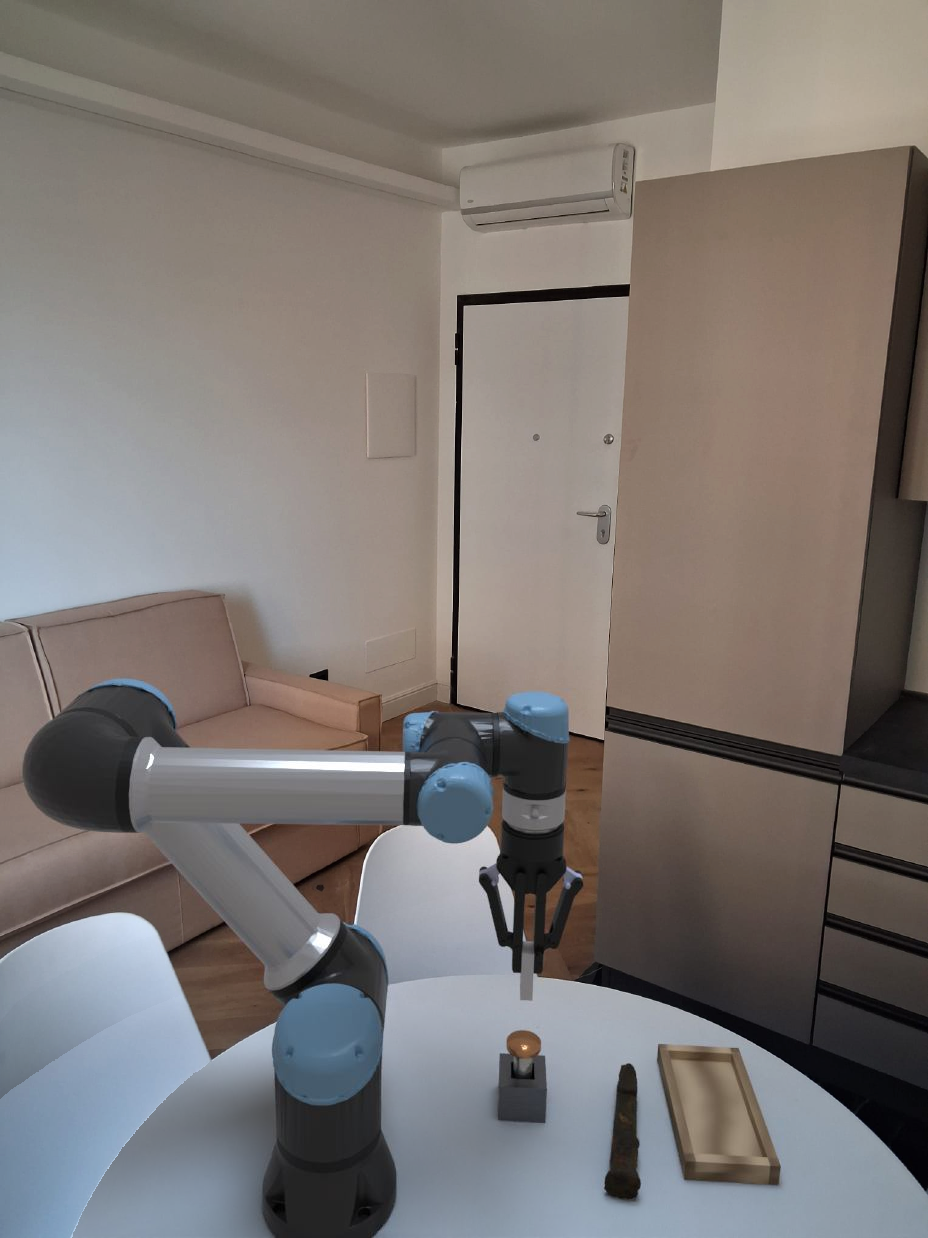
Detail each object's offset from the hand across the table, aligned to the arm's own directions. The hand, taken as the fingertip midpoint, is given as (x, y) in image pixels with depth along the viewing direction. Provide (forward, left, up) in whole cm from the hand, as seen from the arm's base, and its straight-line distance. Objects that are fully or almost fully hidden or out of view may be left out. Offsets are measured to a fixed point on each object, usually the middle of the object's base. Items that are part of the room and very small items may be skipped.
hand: (526, 993), depth 113 cm
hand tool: (+12, -5, -17) cm, 21 cm away
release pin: (0, 0, -14) cm, 14 cm away
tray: (+24, -1, -16) cm, 29 cm away
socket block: (0, 0, -16) cm, 16 cm away
